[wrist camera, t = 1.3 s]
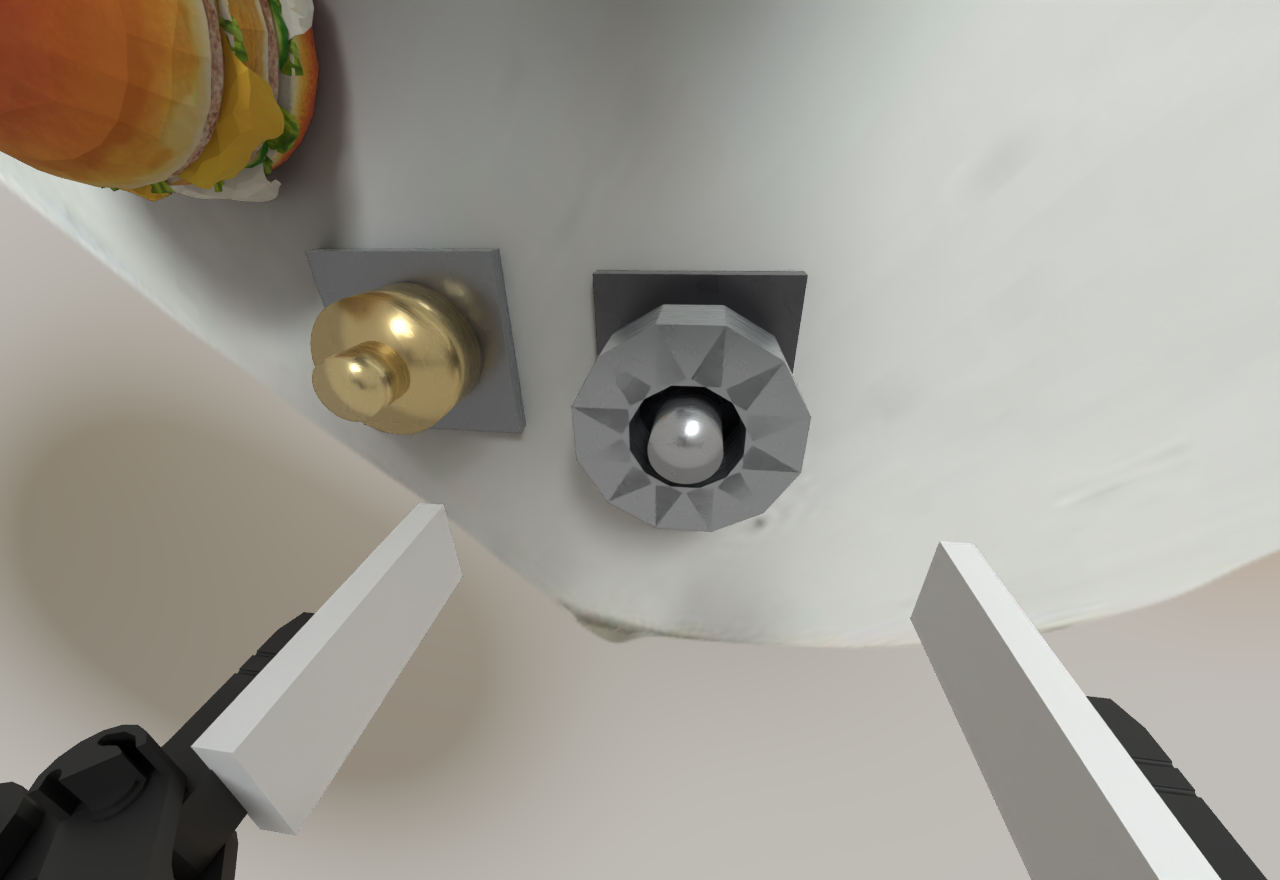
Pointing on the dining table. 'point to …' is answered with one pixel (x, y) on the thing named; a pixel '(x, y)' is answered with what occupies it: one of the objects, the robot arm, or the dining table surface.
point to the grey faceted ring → (706, 357)
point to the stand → (695, 415)
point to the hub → (415, 340)
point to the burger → (158, 92)
